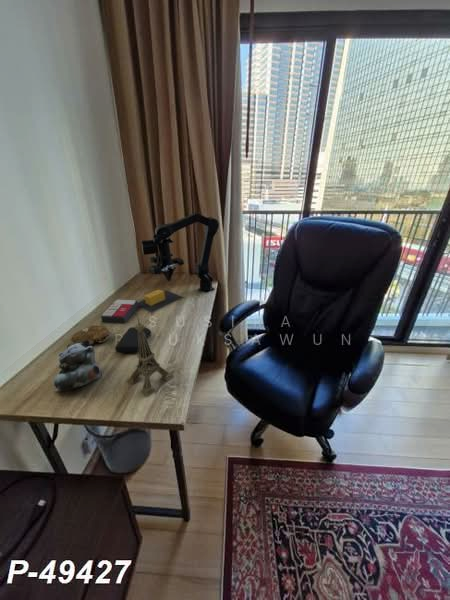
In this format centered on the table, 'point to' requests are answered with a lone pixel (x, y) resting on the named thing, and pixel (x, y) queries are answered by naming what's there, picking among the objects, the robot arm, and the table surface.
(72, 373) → the grey lumpy figure
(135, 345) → the carrying case
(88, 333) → the decorative rock
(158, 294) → the block
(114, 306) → the red and white box
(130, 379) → the eiffel tower
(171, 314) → the table surface
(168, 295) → the mat
